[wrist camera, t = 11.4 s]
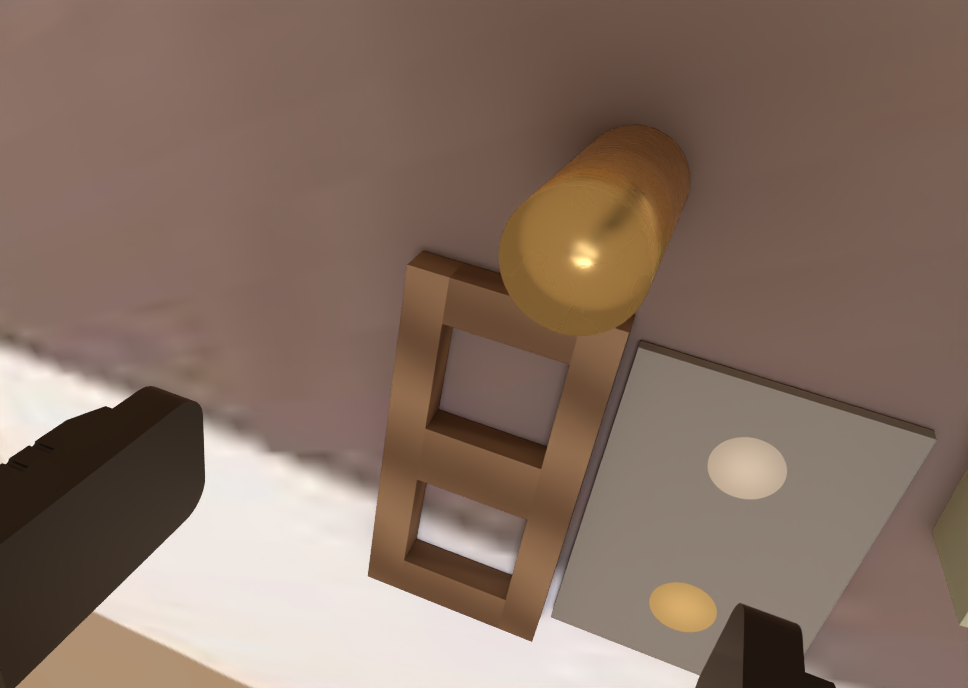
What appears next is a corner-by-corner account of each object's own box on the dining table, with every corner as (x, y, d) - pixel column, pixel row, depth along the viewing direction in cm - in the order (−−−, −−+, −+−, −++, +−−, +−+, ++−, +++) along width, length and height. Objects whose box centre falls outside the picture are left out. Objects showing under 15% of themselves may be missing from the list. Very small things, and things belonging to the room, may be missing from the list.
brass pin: (598, 109, 26) (522, 163, 18) (708, 147, 25) (677, 220, 17) (563, 214, 28) (482, 302, 20) (664, 252, 27) (620, 358, 19)
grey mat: (640, 340, 29) (638, 347, 29) (933, 430, 27) (936, 440, 26) (553, 608, 37) (550, 617, 37) (773, 693, 35) (773, 704, 35)
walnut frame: (422, 250, 30) (407, 264, 29) (635, 314, 29) (629, 332, 27) (381, 554, 40) (367, 576, 38) (540, 617, 38) (532, 641, 37)
